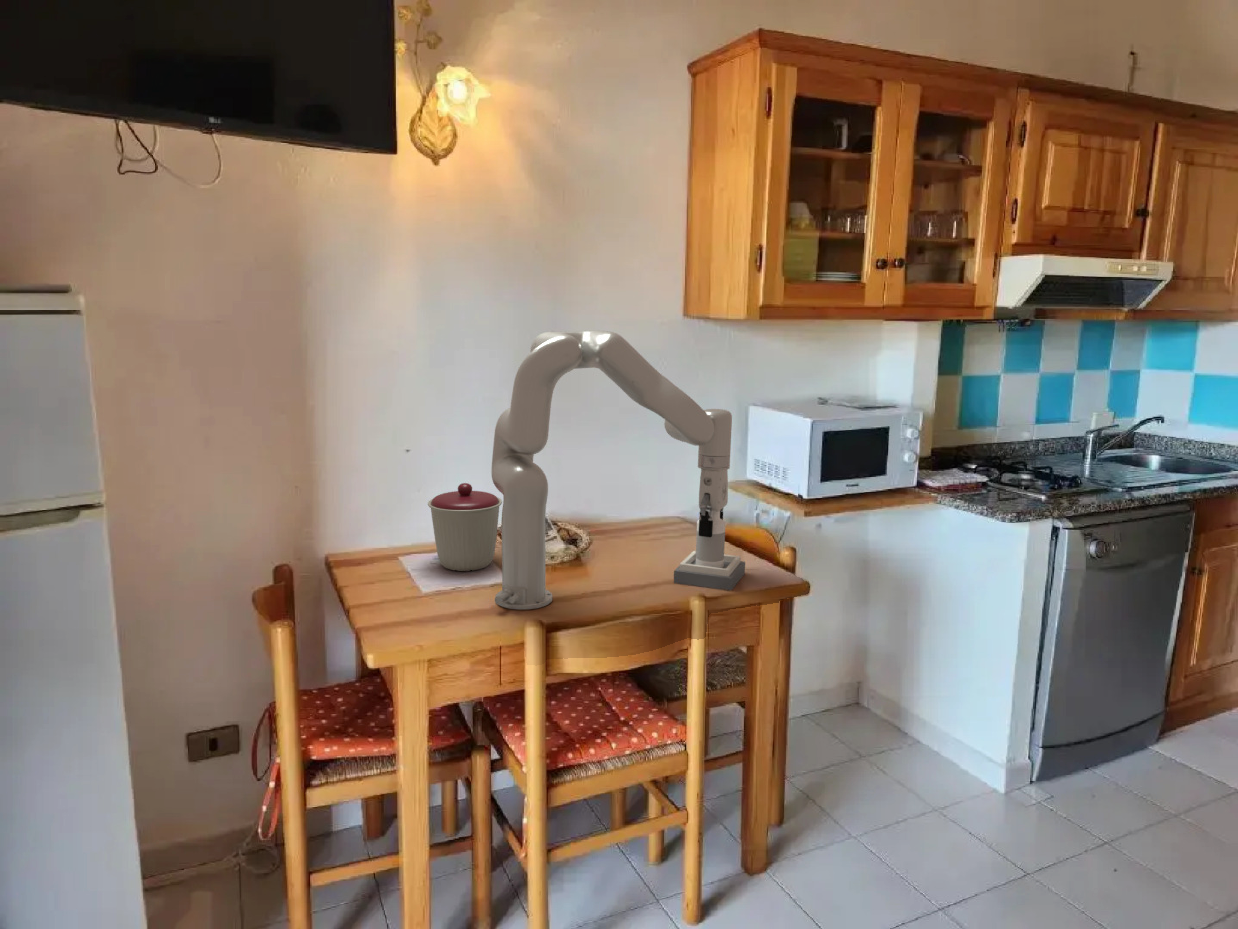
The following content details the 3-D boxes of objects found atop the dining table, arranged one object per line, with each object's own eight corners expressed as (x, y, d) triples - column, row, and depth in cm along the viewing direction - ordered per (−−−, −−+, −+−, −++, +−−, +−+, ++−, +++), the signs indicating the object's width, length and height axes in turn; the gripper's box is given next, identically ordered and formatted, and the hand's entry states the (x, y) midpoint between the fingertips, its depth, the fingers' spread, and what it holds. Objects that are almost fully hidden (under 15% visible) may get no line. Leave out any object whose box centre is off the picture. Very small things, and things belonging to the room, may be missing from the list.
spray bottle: (692, 568, 204) (695, 495, 200) (698, 560, 210) (701, 489, 207) (721, 571, 202) (723, 497, 198) (726, 563, 208) (728, 491, 205)
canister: (416, 563, 214) (413, 482, 210) (477, 550, 226) (476, 473, 222) (453, 581, 201) (451, 495, 197) (516, 567, 213) (516, 484, 209)
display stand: (731, 590, 198) (732, 572, 197) (673, 582, 202) (674, 564, 202) (744, 573, 210) (745, 555, 210) (690, 566, 215) (690, 549, 214)
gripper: (720, 469, 192) (716, 542, 195) (737, 457, 208) (734, 525, 211) (688, 466, 194) (685, 538, 198) (708, 454, 210) (705, 521, 213)
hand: (710, 531), depth 204 cm, fingers open, 9 cm apart
